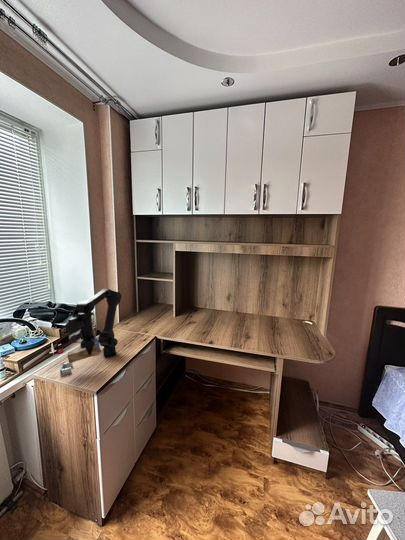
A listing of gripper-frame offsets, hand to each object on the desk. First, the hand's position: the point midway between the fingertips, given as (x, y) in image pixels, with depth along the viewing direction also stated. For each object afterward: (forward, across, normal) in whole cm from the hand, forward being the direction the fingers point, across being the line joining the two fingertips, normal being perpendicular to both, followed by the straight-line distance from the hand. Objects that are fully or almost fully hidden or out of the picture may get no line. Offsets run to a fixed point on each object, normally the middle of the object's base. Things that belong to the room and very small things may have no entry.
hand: (89, 353), depth 122 cm
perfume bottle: (+10, -24, 0) cm, 26 cm away
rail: (+2, 0, -3) cm, 3 cm away
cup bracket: (+9, -5, -12) cm, 16 cm away
